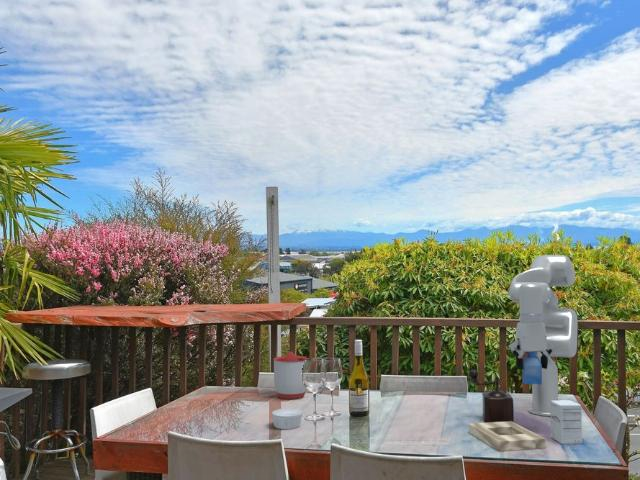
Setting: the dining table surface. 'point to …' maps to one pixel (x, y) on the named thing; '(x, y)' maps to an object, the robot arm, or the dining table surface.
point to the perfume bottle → (532, 369)
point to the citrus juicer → (289, 376)
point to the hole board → (507, 436)
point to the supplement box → (566, 422)
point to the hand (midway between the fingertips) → (532, 368)
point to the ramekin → (287, 418)
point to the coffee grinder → (495, 402)
